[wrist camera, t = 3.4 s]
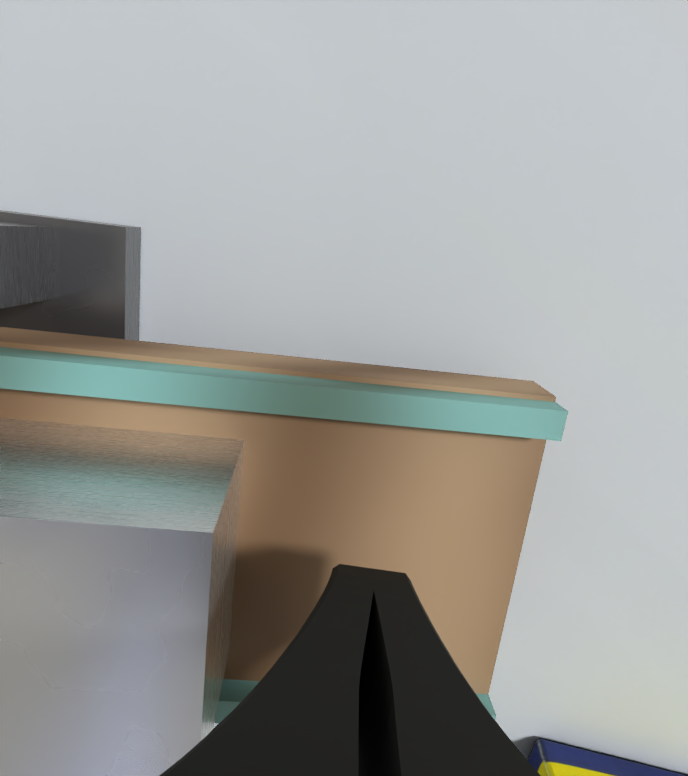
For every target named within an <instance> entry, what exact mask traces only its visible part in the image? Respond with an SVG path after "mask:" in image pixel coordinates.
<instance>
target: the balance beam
mask: <svg viewBox="0 0 688 776" xmlns="http://www.w3.org/2000/svg"><path fill="white" fill-rule="evenodd" d="M555 399H556V397H555V396H554V395H552V394H551V393H549V392H548V391H547V390H545V389H544V388H542V387H541V386H539V385H538V384H537V383H535V382H534V381H527V380H517V379H507V378H497V377H487V376H478V375H468V374H458V373H448V372H439V371H429V370H419V369H409V368H399V367H390V366H380V365H370V364H360V363H351V362H341V361H331V360H321V359H311V358H302V357H292V356H282V355H272V354H262V353H253V352H243V351H233V350H223V349H214V348H204V347H194V346H184V345H174V344H165V343H155V342H145V341H135V340H126V339H116V338H106V337H96V336H86V335H77V334H67V333H57V332H47V331H38V330H28V329H18V328H8V327H0V418H7V419H18V420H29V421H40V422H52V423H63V424H74V425H85V426H96V427H107V428H118V429H129V430H141V431H152V432H163V433H174V434H185V435H196V436H207V437H218V438H230V439H241V440H244V453H243V467H242V481H241V494H240V508H239V522H238V536H237V550H236V563H235V577H234V591H233V605H232V619H231V633H230V646H229V654H228V658H227V663H226V668H225V673H224V678H223V683H222V688H221V693H220V697H219V702H218V707H217V712H216V717H215V722H214V723H220V722H221V721H222V720H223V719H224V718H225V717H227V716H228V715H229V714H230V713H231V712H232V711H233V710H234V709H235V708H236V707H237V706H238V705H239V704H240V702H241V701H242V700H243V699H244V698H245V697H246V696H247V695H248V694H249V693H250V692H251V691H252V690H253V689H254V687H255V686H256V685H257V684H258V683H259V682H260V681H261V679H262V678H263V677H264V676H265V675H266V674H267V672H268V671H269V670H270V669H271V668H272V666H273V665H274V664H275V663H276V661H277V660H278V659H279V657H280V656H281V655H282V653H283V652H284V651H285V650H286V648H287V647H288V646H289V644H290V643H291V642H292V640H293V639H294V638H295V636H296V635H297V634H298V632H299V631H300V629H301V628H302V626H303V625H304V623H305V621H306V620H307V618H308V617H309V615H310V614H311V612H312V611H313V609H314V608H315V606H316V604H317V602H318V601H319V599H320V597H321V595H322V593H323V592H324V590H325V588H326V585H327V583H328V581H329V578H330V576H331V573H332V569H333V568H334V567H336V566H337V565H339V564H344V565H351V566H358V567H366V568H373V569H380V570H387V571H394V572H401V573H406V575H407V576H408V577H409V579H410V580H411V582H412V585H413V587H414V589H415V591H416V593H417V595H418V597H419V600H420V602H421V604H422V606H423V607H424V609H425V611H426V613H427V615H428V617H429V619H430V621H431V623H432V624H433V626H434V628H435V630H436V632H437V633H438V635H439V637H440V638H441V640H442V642H443V643H444V645H445V647H446V648H447V650H448V652H449V653H450V655H451V657H452V658H453V660H454V662H455V663H456V665H457V666H458V668H459V670H460V671H461V673H462V674H463V676H464V677H465V679H466V680H467V682H468V683H469V685H470V686H471V688H472V689H473V690H474V692H475V693H476V695H477V696H478V698H479V699H480V701H481V702H482V703H483V705H484V706H485V708H486V709H487V710H488V712H489V713H490V714H491V716H492V717H493V718H494V720H495V718H496V714H495V711H494V709H493V706H492V703H491V701H490V698H489V695H488V692H489V688H490V684H491V679H492V675H493V670H494V666H495V662H496V657H497V653H498V649H499V644H500V640H501V635H502V631H503V627H504V622H505V618H506V614H507V609H508V605H509V601H510V596H511V592H512V587H513V583H514V579H515V574H516V570H517V566H518V561H519V557H520V552H521V548H522V544H523V539H524V535H525V531H526V526H527V522H528V517H529V513H530V509H531V504H532V500H533V496H534V491H535V487H536V482H537V478H538V474H539V469H540V465H541V461H542V456H543V452H544V448H545V443H546V440H556V441H561V439H562V435H563V431H564V426H565V422H566V418H567V414H568V411H567V410H565V409H564V408H563V407H561V406H560V405H559V404H557V403H556V402H555Z"/></svg>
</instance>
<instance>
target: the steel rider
mask: <svg viewBox="0 0 688 776" xmlns="http://www.w3.org/2000/svg"><path fill="white" fill-rule="evenodd" d="M243 453H244V440H241V439H230V438H218V437H207V436H196V435H185V434H174V433H163V432H152V431H141V430H129V429H118V428H107V427H96V426H85V425H74V424H63V423H52V422H40V421H29V420H18V419H7V418H0V776H160V775H161V774H162V773H163V772H165V771H166V770H167V769H168V768H170V767H171V766H172V765H173V764H175V763H176V762H177V761H178V760H180V759H181V758H182V757H183V756H184V755H186V754H187V753H188V752H189V751H190V750H191V749H192V748H194V747H195V746H196V745H197V744H198V743H199V742H200V741H201V740H202V739H204V738H205V737H206V736H207V735H208V734H209V733H210V732H211V731H212V730H213V727H214V722H215V717H216V712H217V707H218V702H219V697H220V693H221V688H222V683H223V678H224V673H225V668H226V663H227V658H228V654H229V646H230V633H231V619H232V605H233V591H234V577H235V563H236V550H237V536H238V522H239V508H240V494H241V481H242V467H243Z"/></svg>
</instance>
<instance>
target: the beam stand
mask: <svg viewBox="0 0 688 776" xmlns="http://www.w3.org/2000/svg"><path fill="white" fill-rule="evenodd" d="M140 240H141V227H133V226H124V225H116V224H108V223H100V222H92V221H83V220H75V219H67V218H59V217H51V216H42V215H34V214H26V213H18V212H9V211H1V210H0V327H8V328H18V329H28V330H38V331H47V332H57V333H67V334H77V335H86V336H96V337H106V338H116V339H126V340H135V341H139V300H140Z"/></svg>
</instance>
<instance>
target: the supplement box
mask: <svg viewBox="0 0 688 776" xmlns="http://www.w3.org/2000/svg"><path fill="white" fill-rule="evenodd" d="M527 761H528V762H529V763H530V764H531V765H532V766H533V767H534V769H535V770H536V771H537V772H538V773H539V774H540V775H541V776H687V775H682V774H679V773H675V772H671V771H667V770H663V769H659V768H655V767H651V766H647V765H643V764H640V763H636V762H631V761H627V760H623V759H620V758H616V757H612V756H606V755H603V754H599V753H595V752H591V751H588V750H584V749H579V748H575V747H572V746H568V745H563V744H559V743H555V742H552V741H548V740H544V739H538V740H537V741H536V742H535V745H534V747H533V750H532V752H531V754H530V756H529V758H528V760H527Z"/></svg>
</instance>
